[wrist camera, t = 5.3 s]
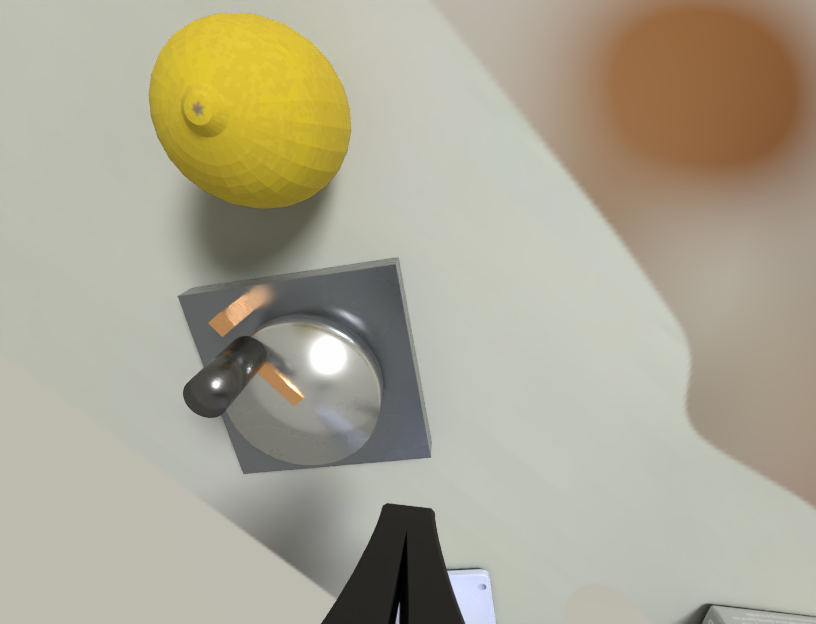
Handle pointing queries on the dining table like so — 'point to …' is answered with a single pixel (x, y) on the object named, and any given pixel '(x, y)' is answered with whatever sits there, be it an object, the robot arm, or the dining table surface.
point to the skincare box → (752, 617)
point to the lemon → (249, 110)
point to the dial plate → (340, 301)
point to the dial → (294, 389)
